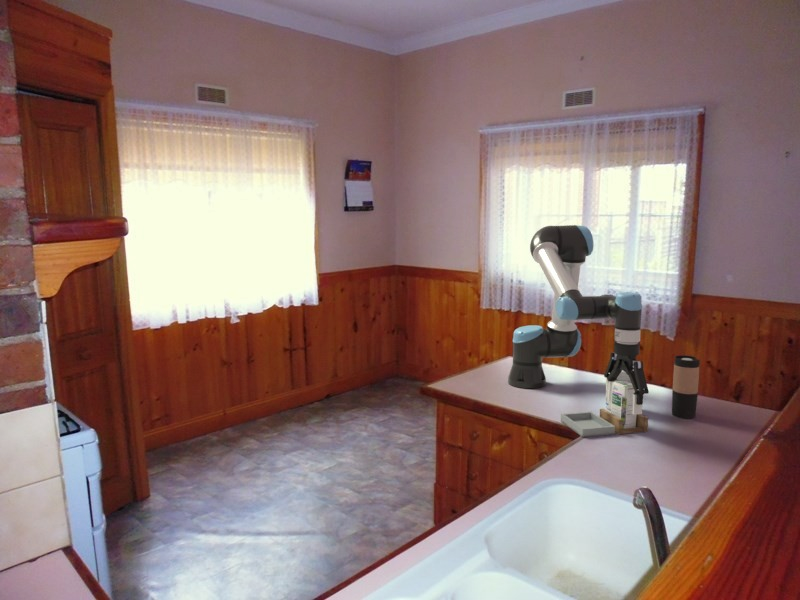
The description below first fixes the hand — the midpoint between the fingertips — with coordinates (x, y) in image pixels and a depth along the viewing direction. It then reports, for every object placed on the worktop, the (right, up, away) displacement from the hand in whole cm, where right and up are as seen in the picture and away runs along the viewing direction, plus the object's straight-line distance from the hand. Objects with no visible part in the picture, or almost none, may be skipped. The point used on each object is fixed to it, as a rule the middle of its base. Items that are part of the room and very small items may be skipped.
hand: (624, 407), depth 177 cm
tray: (-12, -7, +1) cm, 13 cm away
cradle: (0, -7, +1) cm, 7 cm away
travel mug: (+25, -5, +11) cm, 27 cm away
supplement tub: (+6, -4, +18) cm, 20 cm away
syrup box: (0, -7, +1) cm, 7 cm away
